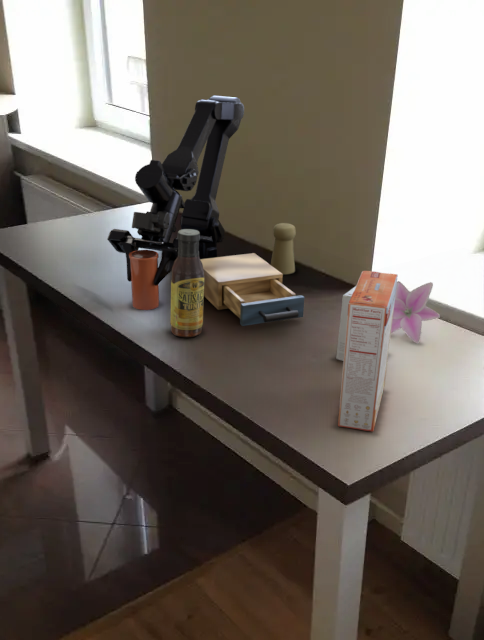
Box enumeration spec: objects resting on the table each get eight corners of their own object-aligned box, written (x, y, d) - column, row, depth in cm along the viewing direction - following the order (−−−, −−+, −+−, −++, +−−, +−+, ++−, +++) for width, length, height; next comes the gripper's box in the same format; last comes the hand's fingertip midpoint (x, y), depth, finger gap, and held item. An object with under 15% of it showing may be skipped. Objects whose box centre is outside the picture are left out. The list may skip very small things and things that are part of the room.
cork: (265, 271, 175) (267, 225, 169) (276, 264, 179) (278, 219, 174) (288, 276, 172) (291, 229, 167) (299, 268, 177) (302, 223, 172)
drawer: (312, 324, 146) (313, 304, 144) (250, 334, 141) (251, 313, 139) (274, 293, 160) (275, 274, 158) (216, 301, 155) (216, 282, 153)
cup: (134, 298, 158) (132, 248, 153) (162, 300, 158) (161, 250, 152) (128, 309, 153) (125, 258, 147) (157, 311, 152) (155, 259, 147)
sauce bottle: (178, 341, 140) (176, 238, 130) (165, 329, 145) (162, 229, 135) (209, 335, 143) (210, 234, 133) (196, 323, 147) (195, 225, 138)
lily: (363, 327, 150) (364, 297, 142) (405, 296, 153) (409, 265, 145) (405, 363, 144) (410, 334, 136) (448, 330, 147) (455, 300, 139)
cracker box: (348, 386, 126) (361, 268, 116) (384, 391, 124) (400, 273, 114) (334, 427, 114) (347, 300, 104) (373, 433, 113) (390, 305, 102)
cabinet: (281, 301, 159) (282, 273, 156) (218, 310, 154) (218, 282, 151) (253, 278, 170) (254, 252, 167) (193, 286, 165) (193, 260, 162)
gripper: (108, 189, 150) (85, 258, 147) (193, 199, 145) (171, 271, 141) (128, 218, 161) (107, 283, 157) (208, 228, 155) (188, 295, 152)
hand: (141, 282), depth 151 cm, fingers closed on cup, 6 cm apart
